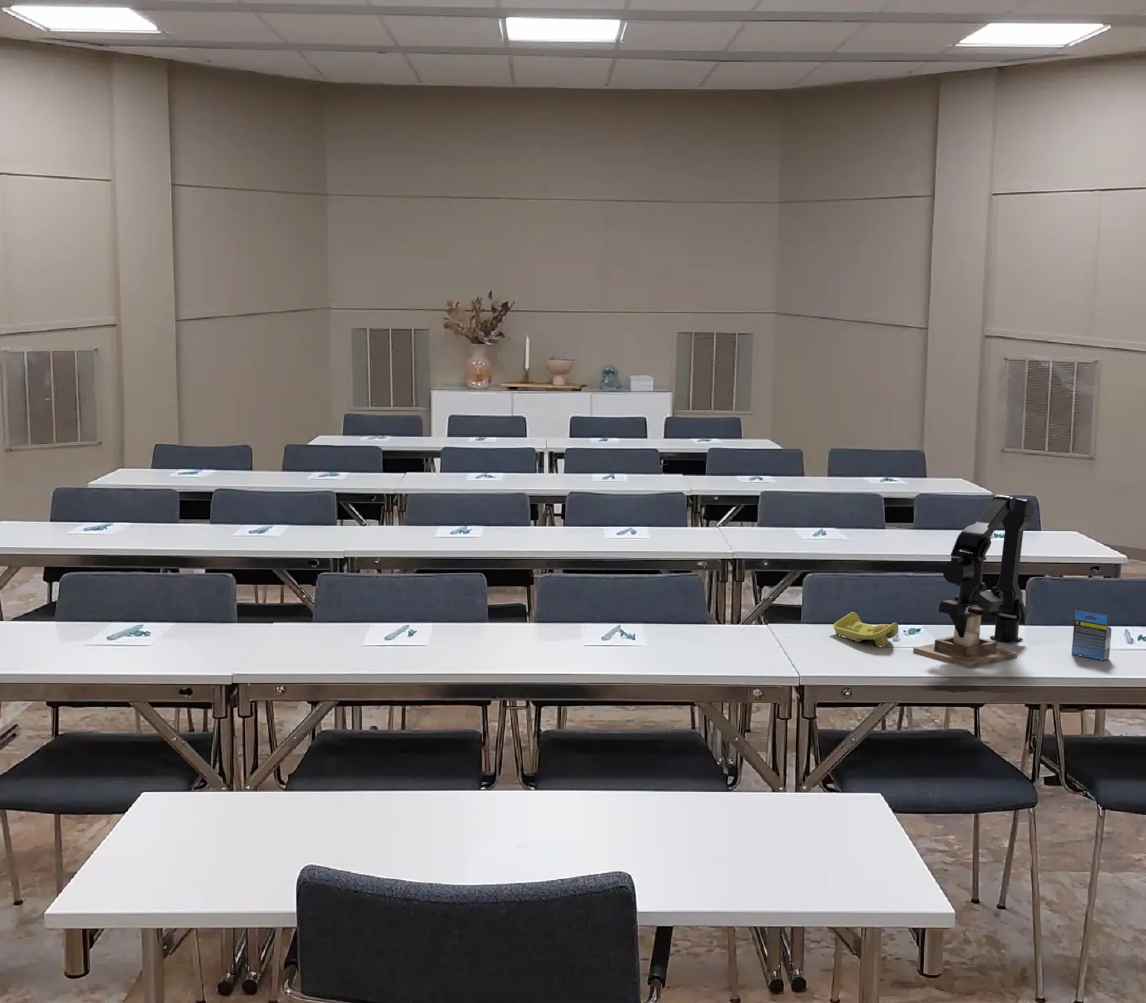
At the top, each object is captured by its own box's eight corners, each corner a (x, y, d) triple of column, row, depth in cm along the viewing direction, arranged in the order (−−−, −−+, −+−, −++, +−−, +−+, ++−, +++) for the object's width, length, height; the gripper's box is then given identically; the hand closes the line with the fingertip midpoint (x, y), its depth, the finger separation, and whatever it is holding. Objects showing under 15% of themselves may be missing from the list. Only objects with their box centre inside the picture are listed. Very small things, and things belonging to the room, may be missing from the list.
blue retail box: (1109, 659, 339) (1114, 613, 337) (1103, 661, 336) (1107, 615, 335) (1076, 652, 345) (1080, 607, 344) (1070, 654, 343) (1074, 609, 341)
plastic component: (829, 626, 357) (856, 608, 360) (839, 648, 359) (866, 631, 362) (872, 638, 339) (900, 619, 342) (881, 661, 341) (910, 643, 344)
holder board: (959, 642, 352) (960, 629, 352) (1017, 657, 338) (1018, 643, 338) (913, 652, 340) (914, 638, 340) (970, 668, 326) (971, 653, 326)
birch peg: (962, 640, 342) (965, 611, 341) (978, 645, 338) (981, 615, 337) (953, 642, 340) (955, 613, 338) (969, 647, 336) (971, 617, 334)
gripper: (974, 588, 324) (970, 648, 327) (1018, 580, 335) (1014, 638, 338) (938, 580, 333) (934, 638, 335) (982, 572, 344) (978, 629, 347)
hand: (966, 636), depth 339 cm, fingers closed on birch peg, 4 cm apart
